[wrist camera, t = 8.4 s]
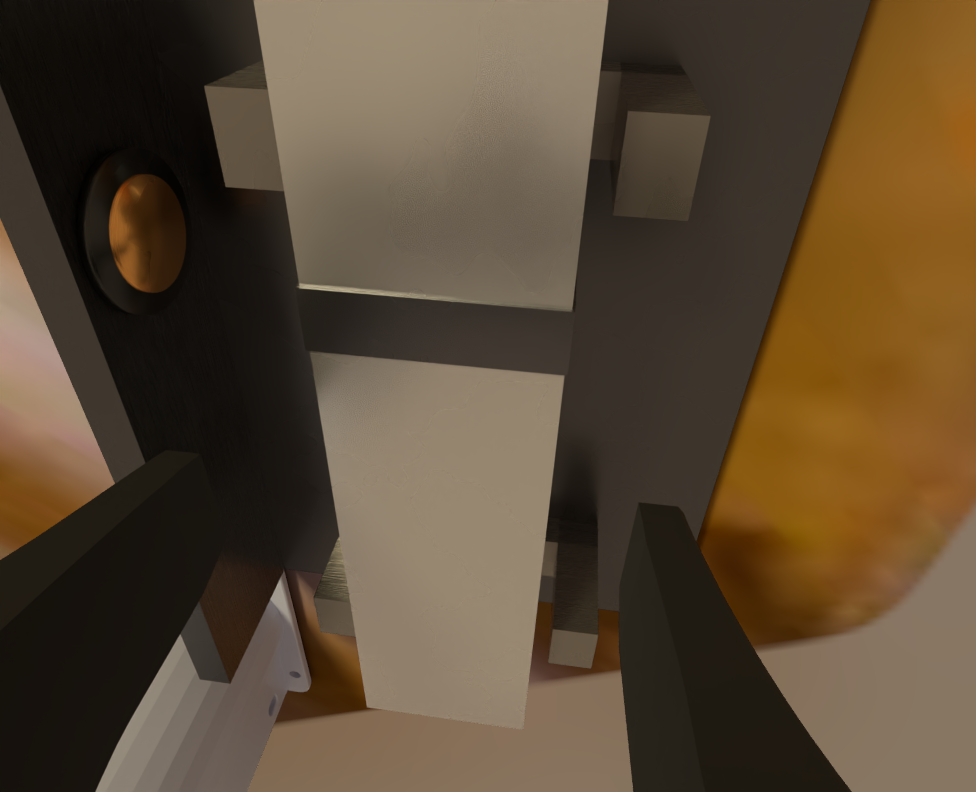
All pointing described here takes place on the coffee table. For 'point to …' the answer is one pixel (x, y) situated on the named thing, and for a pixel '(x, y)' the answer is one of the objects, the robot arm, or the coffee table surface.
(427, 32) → the cream rectangular block
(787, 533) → the coffee table surface
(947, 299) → the coffee table surface
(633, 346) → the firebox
